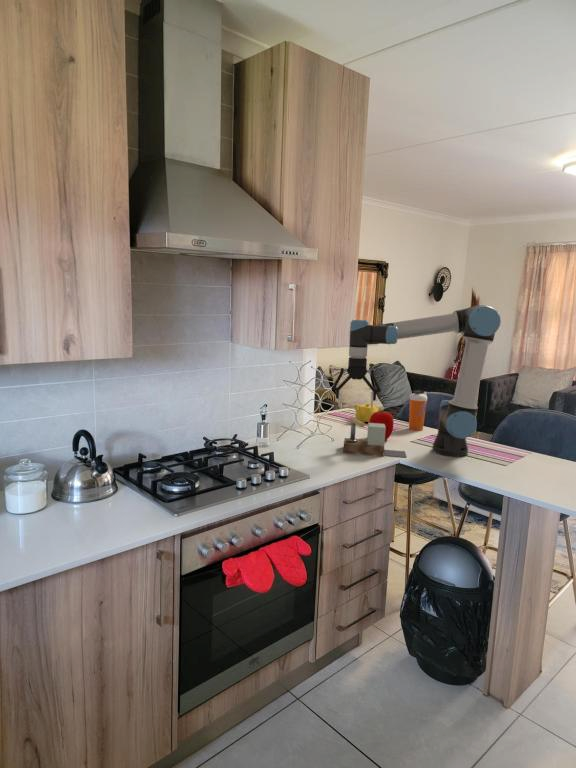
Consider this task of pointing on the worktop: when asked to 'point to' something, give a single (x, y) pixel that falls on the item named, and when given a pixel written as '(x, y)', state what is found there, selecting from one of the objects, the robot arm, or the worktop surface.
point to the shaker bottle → (417, 410)
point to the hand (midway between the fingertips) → (355, 407)
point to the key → (353, 427)
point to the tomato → (383, 421)
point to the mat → (395, 453)
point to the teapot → (365, 412)
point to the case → (362, 448)
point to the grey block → (376, 434)
